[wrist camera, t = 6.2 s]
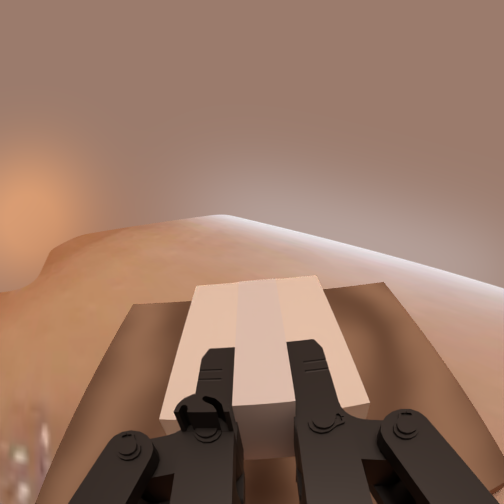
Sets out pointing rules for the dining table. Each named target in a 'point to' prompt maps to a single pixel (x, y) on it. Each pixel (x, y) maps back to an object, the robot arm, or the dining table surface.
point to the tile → (295, 327)
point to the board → (282, 469)
